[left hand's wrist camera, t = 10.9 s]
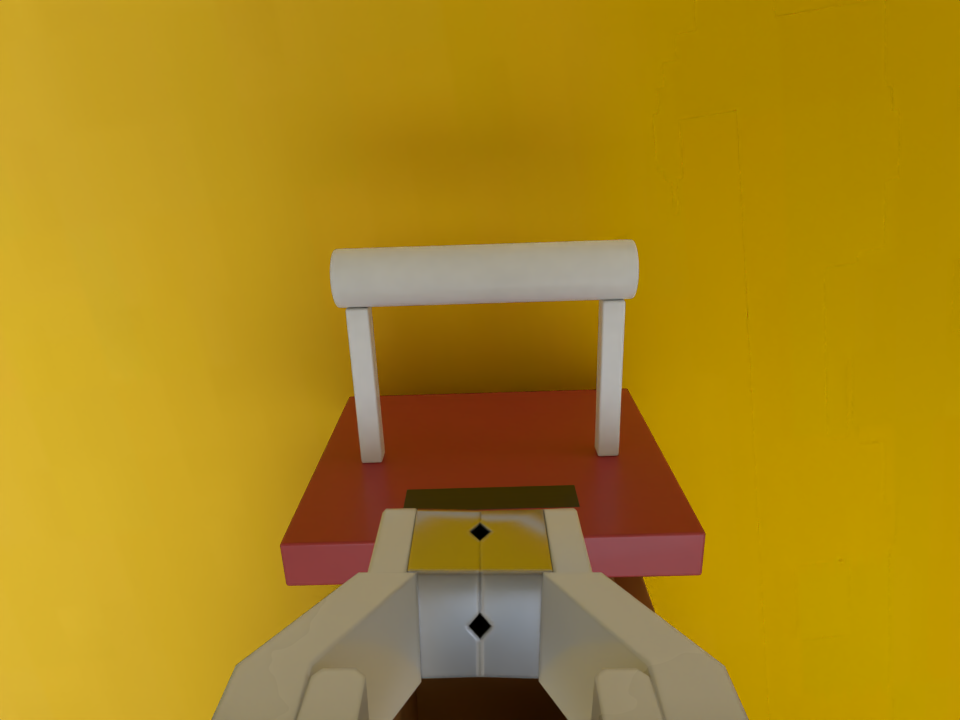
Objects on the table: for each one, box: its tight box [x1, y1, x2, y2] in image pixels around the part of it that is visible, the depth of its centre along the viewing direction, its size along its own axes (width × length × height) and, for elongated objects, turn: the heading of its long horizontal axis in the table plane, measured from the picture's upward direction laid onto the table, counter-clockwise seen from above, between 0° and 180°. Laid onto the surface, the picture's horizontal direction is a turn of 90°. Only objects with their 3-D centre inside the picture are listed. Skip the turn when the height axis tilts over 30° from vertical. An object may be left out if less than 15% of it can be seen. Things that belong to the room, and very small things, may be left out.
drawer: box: [280, 240, 705, 720], centre depth 21 cm, size 25×10×9 cm, turn 2°
